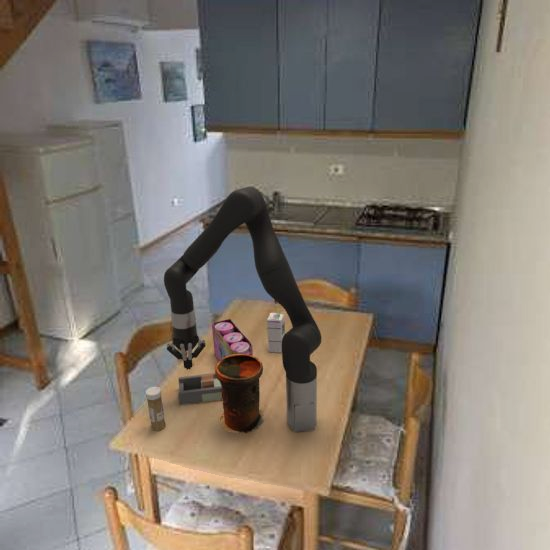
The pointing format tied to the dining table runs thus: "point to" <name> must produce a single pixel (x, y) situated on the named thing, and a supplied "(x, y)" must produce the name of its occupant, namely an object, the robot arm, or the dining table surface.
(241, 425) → the vessel
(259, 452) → the dining table surface
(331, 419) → the dining table surface
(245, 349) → the gum box
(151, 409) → the sprinkles bottle
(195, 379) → the channel
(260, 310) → the dining table surface
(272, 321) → the syrup box
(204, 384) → the block
